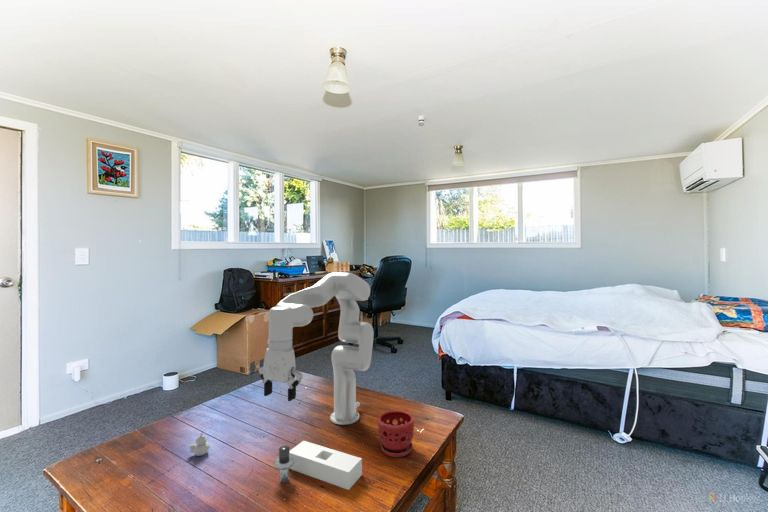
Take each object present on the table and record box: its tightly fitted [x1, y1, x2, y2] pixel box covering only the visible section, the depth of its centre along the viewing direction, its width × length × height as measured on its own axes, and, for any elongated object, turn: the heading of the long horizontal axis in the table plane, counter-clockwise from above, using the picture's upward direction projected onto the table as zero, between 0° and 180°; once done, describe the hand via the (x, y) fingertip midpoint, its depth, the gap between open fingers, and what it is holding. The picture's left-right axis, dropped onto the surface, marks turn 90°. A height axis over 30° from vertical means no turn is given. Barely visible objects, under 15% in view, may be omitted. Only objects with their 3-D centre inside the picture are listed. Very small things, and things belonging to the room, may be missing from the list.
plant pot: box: [377, 410, 415, 458], centre depth 126 cm, size 13×13×12 cm
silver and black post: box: [273, 445, 294, 483], centre depth 110 cm, size 6×6×10 cm
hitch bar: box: [289, 440, 363, 491], centre depth 114 cm, size 8×24×5 cm, turn 63°
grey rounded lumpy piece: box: [188, 432, 211, 457], centre depth 124 cm, size 5×7×8 cm
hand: (279, 397), depth 113 cm, fingers open, 9 cm apart
